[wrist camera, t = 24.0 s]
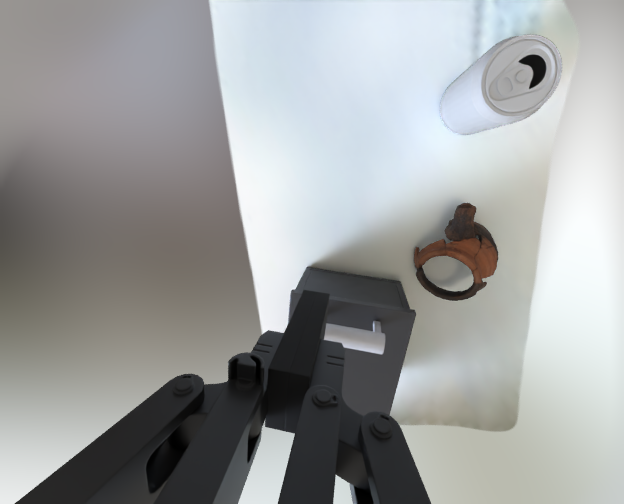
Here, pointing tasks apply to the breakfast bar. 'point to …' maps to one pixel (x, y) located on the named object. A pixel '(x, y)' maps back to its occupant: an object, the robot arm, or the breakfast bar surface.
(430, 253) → the broken terracotta ring
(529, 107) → the beverage can
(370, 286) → the open cubby box
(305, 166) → the breakfast bar surface
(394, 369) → the lid
